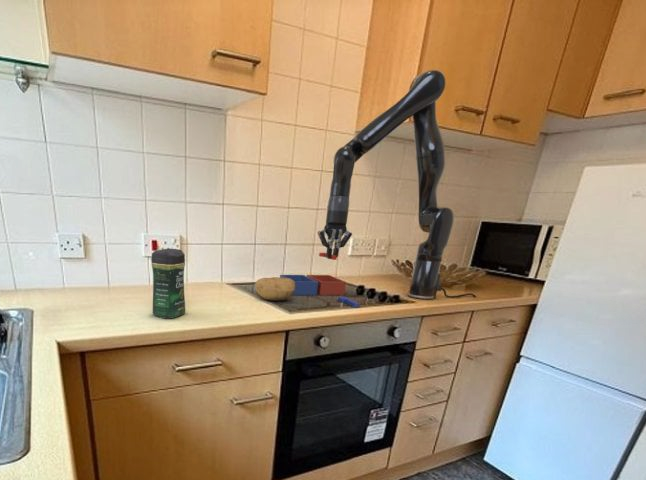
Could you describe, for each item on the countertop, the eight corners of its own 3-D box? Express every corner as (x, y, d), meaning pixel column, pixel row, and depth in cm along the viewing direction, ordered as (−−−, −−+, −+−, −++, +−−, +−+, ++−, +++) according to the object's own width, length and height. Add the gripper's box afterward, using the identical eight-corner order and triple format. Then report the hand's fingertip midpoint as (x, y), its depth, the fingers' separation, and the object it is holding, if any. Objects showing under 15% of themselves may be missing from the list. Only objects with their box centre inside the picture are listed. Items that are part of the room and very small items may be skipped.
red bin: (328, 287, 170) (329, 275, 168) (344, 295, 157) (346, 282, 155) (305, 287, 168) (306, 274, 166) (319, 295, 154) (321, 281, 152)
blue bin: (302, 287, 168) (303, 274, 166) (316, 295, 154) (318, 281, 152) (278, 287, 165) (279, 274, 163) (291, 295, 152) (292, 281, 150)
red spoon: (317, 255, 160) (317, 251, 160) (326, 255, 161) (327, 252, 161) (329, 259, 150) (330, 255, 150) (339, 259, 151) (340, 255, 151)
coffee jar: (173, 320, 112) (171, 251, 105) (148, 316, 115) (145, 248, 108) (189, 313, 121) (189, 248, 114) (166, 309, 123) (165, 246, 116)
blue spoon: (336, 299, 148) (336, 296, 147) (346, 299, 149) (346, 295, 148) (350, 307, 138) (351, 303, 137) (361, 307, 139) (362, 303, 138)
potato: (254, 296, 146) (255, 274, 143) (293, 298, 146) (295, 276, 143) (253, 302, 137) (254, 278, 134) (295, 305, 137) (297, 281, 134)
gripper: (324, 209, 141) (318, 259, 148) (359, 210, 145) (352, 260, 151) (316, 208, 148) (311, 257, 155) (350, 210, 151) (343, 257, 158)
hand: (331, 258), depth 153 cm, fingers closed on red spoon, 1 cm apart
